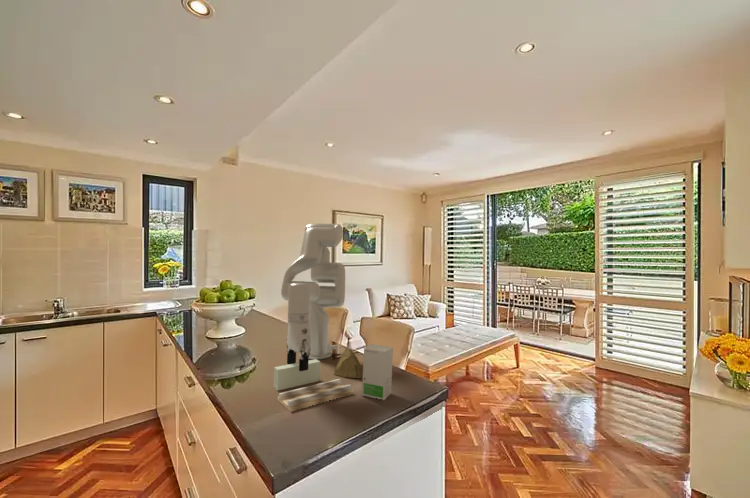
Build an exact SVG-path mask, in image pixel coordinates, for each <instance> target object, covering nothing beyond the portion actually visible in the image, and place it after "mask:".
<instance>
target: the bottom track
mask: <svg viewBox="0 0 750 498" xmlns="http://www.w3.org/2000/svg"><path fill="white" fill-rule="evenodd" d="M352 387H353V385H352V384H350V383H349V384H345V385H344V384H343V383H342V378H337V379H332V380H329V381H328V380H327V381H325V382H319V383H315V384H312V385H307V386H304V387H303V386H302V387H299V388H296V389H291V390H287V391H283V392H279V394H278V396H276V397H277V402H279V403H280V404H281V405H282V406H283V407H284V408H285V409H287V410H288V412H290V413H292V412H296V411H299V410H303V409H305V408H309V406H310V407H313V406H316V404H317V405H320V404H323V402H324V403H327V402H330V401H329V400H331V401H333V399H334V400H337V399H336V398H338V399H340V397H341V398H344V396H345V397H347V395H348V396H351V394H352V395H354V390H353V389H352ZM326 401H327V402H326ZM319 403H320V404H319ZM312 405H313V406H312ZM302 408H303V409H302Z"/></svg>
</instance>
